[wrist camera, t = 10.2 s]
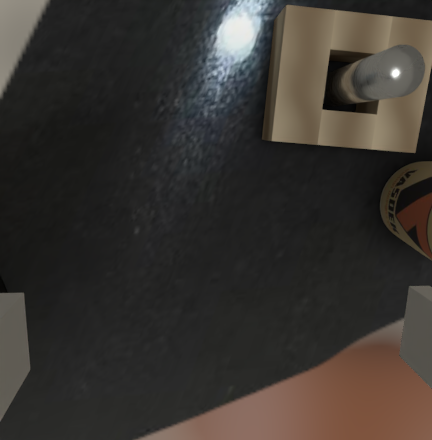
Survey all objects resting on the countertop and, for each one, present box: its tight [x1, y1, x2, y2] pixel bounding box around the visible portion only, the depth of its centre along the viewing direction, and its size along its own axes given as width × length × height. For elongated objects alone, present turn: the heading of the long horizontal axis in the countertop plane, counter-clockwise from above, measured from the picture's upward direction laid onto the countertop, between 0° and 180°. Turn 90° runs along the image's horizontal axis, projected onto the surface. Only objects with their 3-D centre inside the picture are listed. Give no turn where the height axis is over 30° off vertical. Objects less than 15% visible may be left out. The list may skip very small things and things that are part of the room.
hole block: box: [262, 5, 432, 153], centre depth 34 cm, size 12×10×4 cm
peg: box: [323, 44, 425, 106], centre depth 30 cm, size 3×3×12 cm
